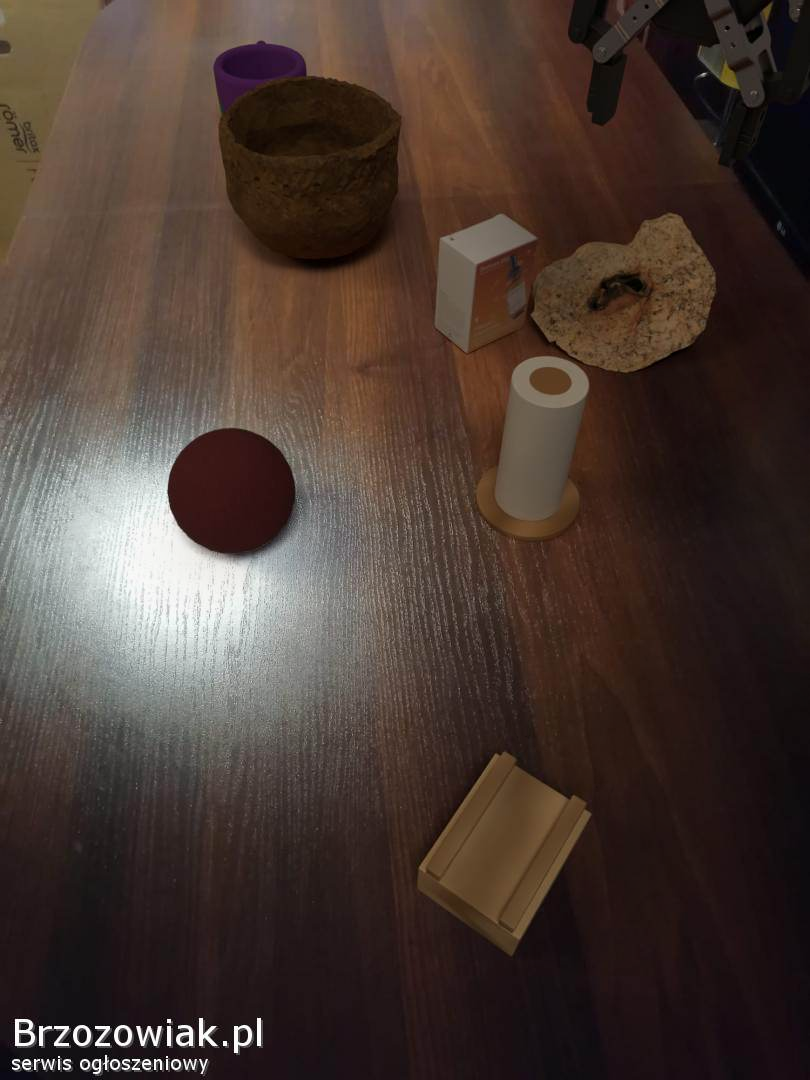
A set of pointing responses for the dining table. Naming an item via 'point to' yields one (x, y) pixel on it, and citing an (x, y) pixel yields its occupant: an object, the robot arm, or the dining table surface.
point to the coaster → (520, 527)
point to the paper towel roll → (539, 436)
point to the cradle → (502, 852)
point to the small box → (484, 282)
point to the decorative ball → (231, 490)
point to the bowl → (311, 164)
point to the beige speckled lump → (627, 297)
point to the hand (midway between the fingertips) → (664, 140)
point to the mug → (253, 69)
